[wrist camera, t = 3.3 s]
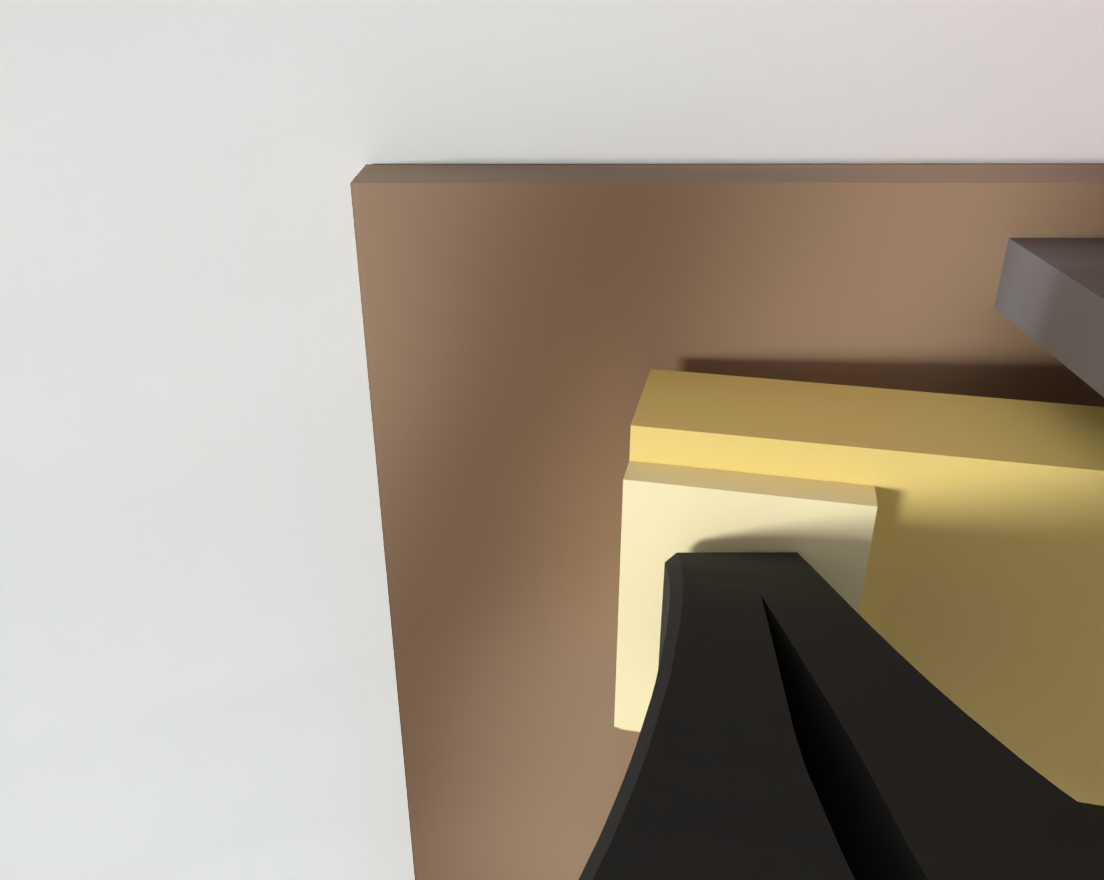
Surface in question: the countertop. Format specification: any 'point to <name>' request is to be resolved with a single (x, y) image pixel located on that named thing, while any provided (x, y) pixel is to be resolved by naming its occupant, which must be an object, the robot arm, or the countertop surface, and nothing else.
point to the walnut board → (610, 404)
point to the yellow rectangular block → (892, 538)
